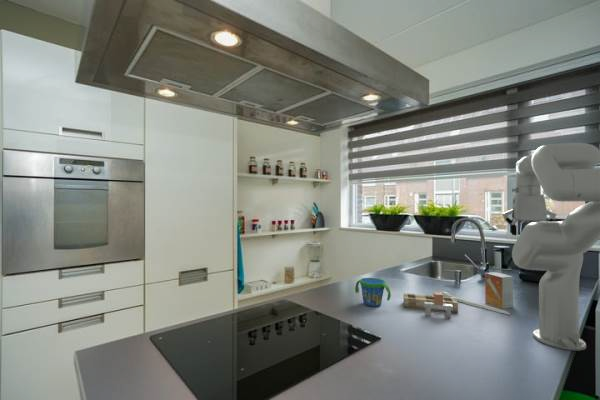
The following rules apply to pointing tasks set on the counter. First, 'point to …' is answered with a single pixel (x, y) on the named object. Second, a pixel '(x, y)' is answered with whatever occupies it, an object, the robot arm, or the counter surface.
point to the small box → (499, 289)
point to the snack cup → (372, 291)
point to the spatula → (475, 304)
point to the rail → (418, 301)
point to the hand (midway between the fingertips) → (528, 235)
